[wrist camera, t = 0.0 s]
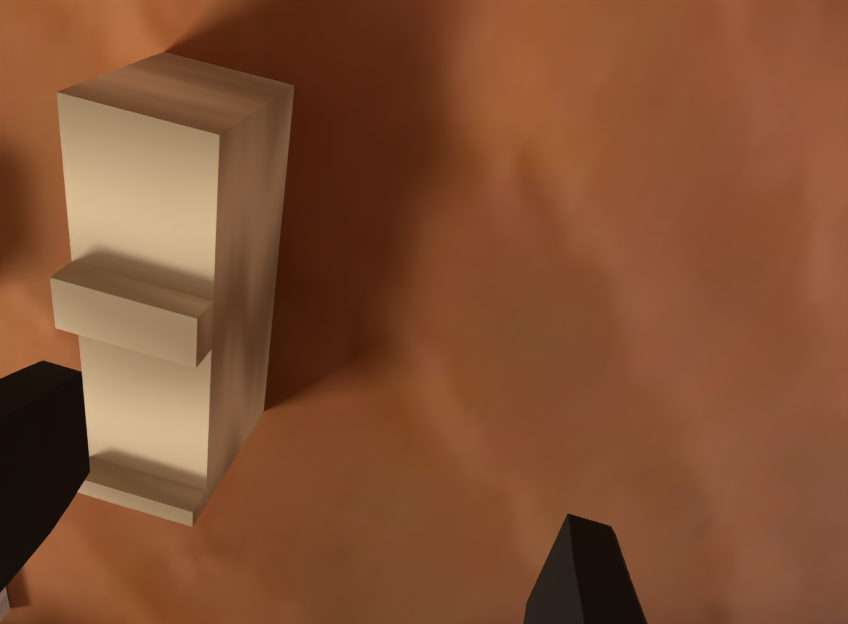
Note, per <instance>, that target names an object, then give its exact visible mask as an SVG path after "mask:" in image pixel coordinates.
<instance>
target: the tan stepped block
mask: <svg viewBox="0 0 848 624" xmlns="http://www.w3.org/2000/svg"><path fill="white" fill-rule="evenodd" d="M294 86H295V85H291V84H287V83H283V82H280V81H276V80H272V79H268V78H264V77H260V76H256V75H252V74H249V73H245V72H241V71H237V70H233V69H229V68H225V67H221V66H217V65H214V64H210V63H206V62H202V61H198V60H194V59H190V58H186V57H183V56H179V55H175V54H171V53H167V52H162V53H159V54H157V55H154V56H151V57H149V58H146V59H143V60H141V61H138V62H135V63H133V64H130V65H127V66H125V67H122V68H119V69H117V70H114V71H111V72H109V73H106V74H103V75H101V76H98V77H95V78H93V79H90V80H87V81H85V82H82V83H79V84H77V85H74V86H71V87H69V88H66V89H63V90H61V91H58V92H57V102H58V113H59V125H60V136H61V147H62V158H63V169H64V180H65V191H66V202H67V213H68V224H69V235H70V247H71V258H72V262H71V263H69V264H68V265H67V266H65V267H64V268H62V269H61V270H60V271H58V272H57V273H55V274H54V275H53V276H51V277H50V283H51V292H52V301H53V310H54V319H55V328H57V329H60V330H64V331H67V332H71V333H74V334H78V335H79V346H80V357H81V368H82V379H83V391H84V402H85V413H86V424H87V435H88V446H89V462H90V473H89V474H88V476H87V478H86V479H85V481H84V482H83V484H82V486H81V487H80V489H79V490H78V493H81V494H84V495H88V496H91V497H94V498H98V499H101V500H104V501H108V502H111V503H114V504H118V505H121V506H124V507H128V508H131V509H134V510H138V511H141V512H144V513H148V514H151V515H154V516H158V517H161V518H164V519H168V520H171V521H174V522H178V523H181V524H184V525H188V526H191V527H193V525H194V524H195V522H196V520H197V519H198V517H199V515H200V514H201V512H202V511H203V509H204V507H205V506H206V504H207V502H208V501H209V499H210V498H211V496H212V494H213V493H214V491H215V489H216V488H217V486H218V485H219V483H220V481H221V480H222V478H223V476H224V475H225V473H226V472H227V470H228V468H229V467H230V465H231V463H232V462H233V460H234V459H235V457H236V455H237V454H238V452H239V451H240V449H241V447H242V446H243V444H244V442H245V441H246V439H247V438H248V436H249V434H250V433H251V431H252V429H253V428H254V426H255V425H256V423H257V421H258V420H259V418H260V416H261V415H262V413H263V412H264V403H265V392H266V382H267V371H268V361H269V350H270V340H271V329H272V318H273V308H274V297H275V287H276V276H277V266H278V255H279V245H280V234H281V223H282V213H283V202H284V192H285V181H286V171H287V160H288V149H289V139H290V128H291V118H292V107H293V97H294Z"/></svg>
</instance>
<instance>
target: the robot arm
mask: <svg viewBox="0 0 848 624" xmlns="http://www.w3.org/2000/svg"><path fill="white" fill-rule="evenodd" d="M89 473H90V462H89V450H88V438H87V427H86V415H85V403H84V391H83V379H82V372H81V371H77V370H74V369H70V368H67V367H63V366H60V365H57V364H53V363H50V362H46V361H40V362H38V363H36V364H33V365H31V366H28V367H26V368H24V369H21V370H19V371H17V372H15V373H12V374H10V375H8V376H6V377H3V378H1V379H0V593H1V591H2V590H3V589H4V588H5V587H6V585H7V584H8V583H9V582H10V581H11V580H12V578H13V577H14V576H15V575H16V574H17V572H18V571H19V570H20V569H21V568H22V566H23V565H24V564H25V563H26V562H27V560H28V559H29V558H30V557H31V556H32V554H33V553H34V552H35V551H36V550H37V548H38V547H39V546H40V545H41V544H42V542H43V541H44V540H45V539H46V537H47V536H48V535H49V534H50V533H51V531H52V530H53V528H54V527H55V525H56V524H57V522H58V521H59V519H60V518H61V516H62V515H63V513H64V512H65V510H66V509H67V507H68V506H69V505H70V503H71V501H72V500H73V498H74V497H75V495H76V493H77V492H78V490H79V489H80V487H81V486H82V484H83V482H84V481H85V479H86V478H87V476H88V474H89ZM524 624H647V621H646V619H645V616H644V613H643V611H642V608H641V605H640V603H639V600H638V597H637V595H636V592H635V589H634V586H633V584H632V581H631V578H630V575H629V572H628V570H627V567H626V564H625V561H624V558H623V555H622V552H621V549H620V546H619V543H618V540H617V537H616V534H615V532H614V531H613V529H612V527H611V526H609V525H605V524H602V523H598V522H595V521H591V520H588V519H585V518H581V517H578V516H574V515H571V514H567V516H566V518H565V520H564V523H563V525H562V527H561V529H560V531H559V534H558V536H557V538H556V540H555V542H554V544H553V547H552V549H551V551H550V553H549V555H548V557H547V560H546V562H545V564H544V566H543V568H542V570H541V573H540V575H539V577H538V579H537V581H536V584H535V586H534V588H533V590H532V592H531V594H530V597H529V599H528V601H527V604H526V611H525V618H524Z"/></svg>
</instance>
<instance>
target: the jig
mask: <svg viewBox="0 0 848 624" xmlns="http://www.w3.org/2000/svg"><path fill="white" fill-rule="evenodd" d="M9 610H10V606H9V601H8V596H7V591H6V587H5V588H4V589H3V590H2V591H1V593H0V621H1V620H2V619H3V618H4V617H5V615H6V614H7V613H8V612H9Z"/></svg>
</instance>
